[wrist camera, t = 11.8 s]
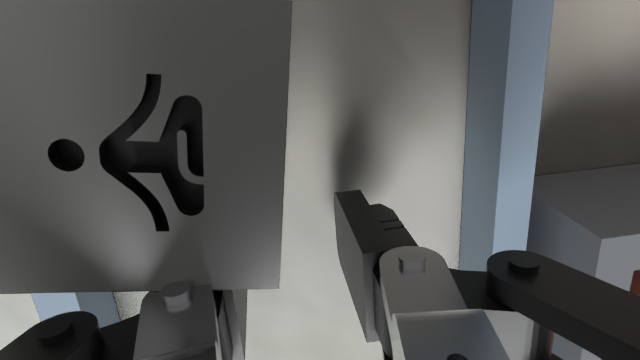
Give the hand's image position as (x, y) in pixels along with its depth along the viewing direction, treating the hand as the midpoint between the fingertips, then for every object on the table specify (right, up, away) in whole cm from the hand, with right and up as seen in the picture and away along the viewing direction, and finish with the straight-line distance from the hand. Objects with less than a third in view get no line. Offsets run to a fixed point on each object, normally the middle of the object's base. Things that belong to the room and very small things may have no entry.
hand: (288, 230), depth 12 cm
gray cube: (-3, +4, 0) cm, 5 cm away
